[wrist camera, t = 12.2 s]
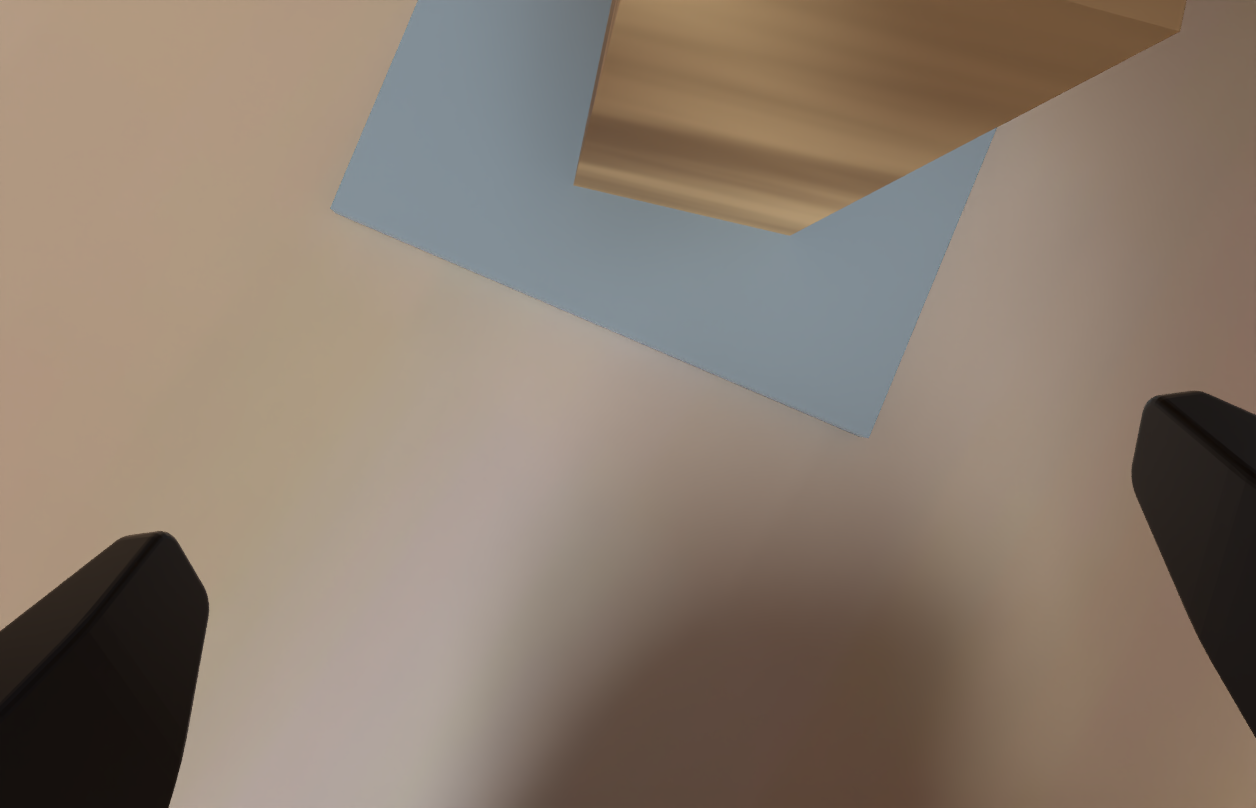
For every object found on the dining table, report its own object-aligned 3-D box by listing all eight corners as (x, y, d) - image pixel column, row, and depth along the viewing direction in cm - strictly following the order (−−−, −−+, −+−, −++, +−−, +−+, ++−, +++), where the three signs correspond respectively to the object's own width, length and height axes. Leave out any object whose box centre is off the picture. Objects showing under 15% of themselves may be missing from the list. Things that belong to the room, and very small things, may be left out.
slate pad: (859, 436, 23) (868, 438, 22) (335, 212, 21) (330, 208, 21) (1036, 8, 23) (1049, -2, 22) (527, -243, 21) (528, -260, 21)
